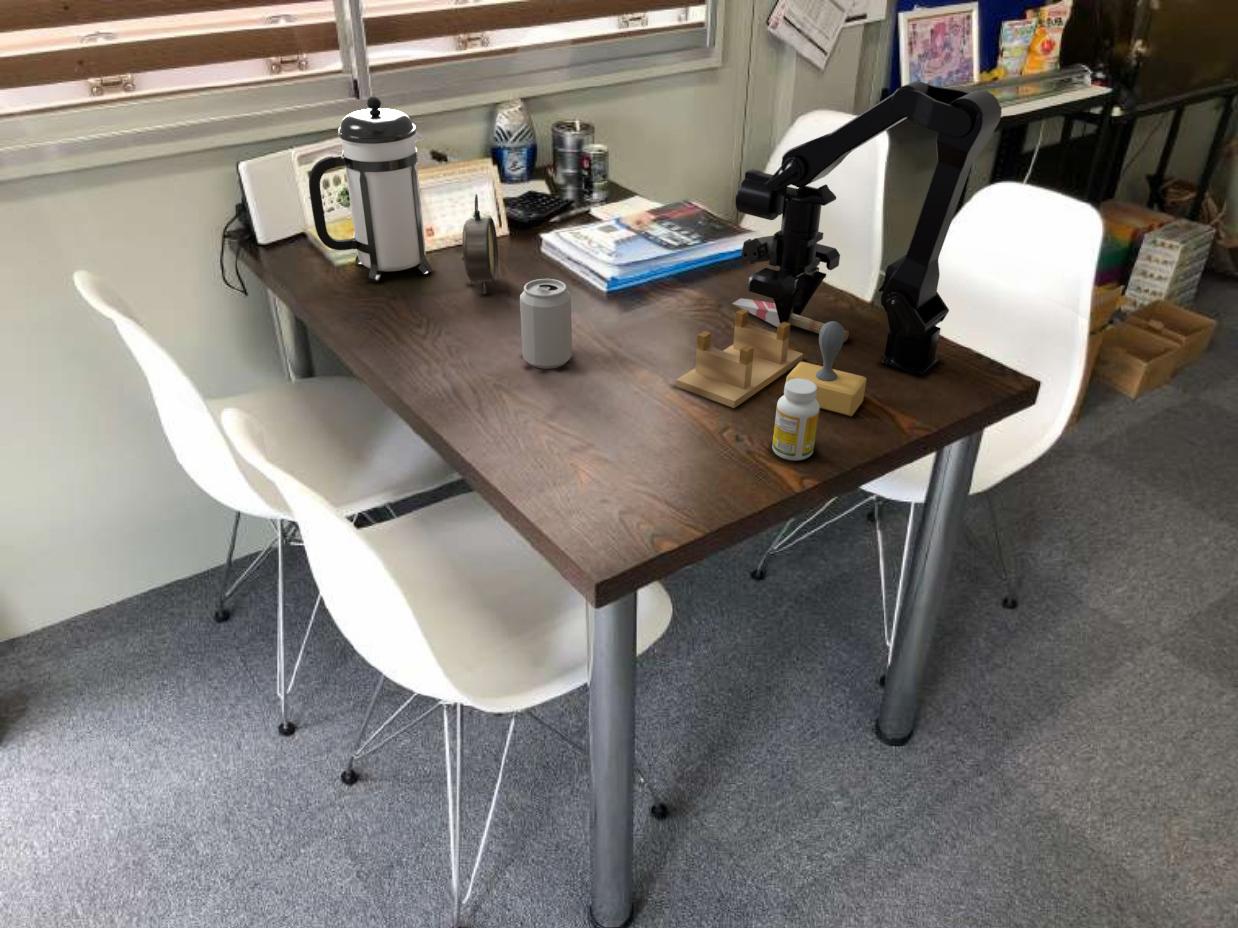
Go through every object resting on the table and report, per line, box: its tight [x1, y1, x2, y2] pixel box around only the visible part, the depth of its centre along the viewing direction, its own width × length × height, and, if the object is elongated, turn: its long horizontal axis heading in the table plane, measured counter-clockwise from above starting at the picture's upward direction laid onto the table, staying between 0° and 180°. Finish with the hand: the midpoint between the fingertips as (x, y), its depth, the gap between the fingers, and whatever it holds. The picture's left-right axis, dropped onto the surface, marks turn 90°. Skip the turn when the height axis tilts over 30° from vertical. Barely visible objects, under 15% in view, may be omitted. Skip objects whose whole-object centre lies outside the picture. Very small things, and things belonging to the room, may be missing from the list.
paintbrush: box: [732, 297, 850, 343], centre depth 163 cm, size 4×3×20 cm
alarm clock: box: [461, 193, 499, 296], centre depth 172 cm, size 11×5×16 cm, turn 179°
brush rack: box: [675, 308, 804, 409], centre depth 147 cm, size 10×19×7 cm, turn 141°
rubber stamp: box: [785, 320, 867, 417], centre depth 139 cm, size 10×6×12 cm, turn 61°
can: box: [519, 278, 573, 370], centre depth 149 cm, size 8×8×12 cm
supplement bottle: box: [771, 379, 821, 461], centre depth 128 cm, size 5×5×10 cm
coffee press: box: [308, 95, 433, 284], centre depth 173 cm, size 17×16×30 cm
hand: (789, 320), depth 163 cm, fingers closed on paintbrush, 4 cm apart
